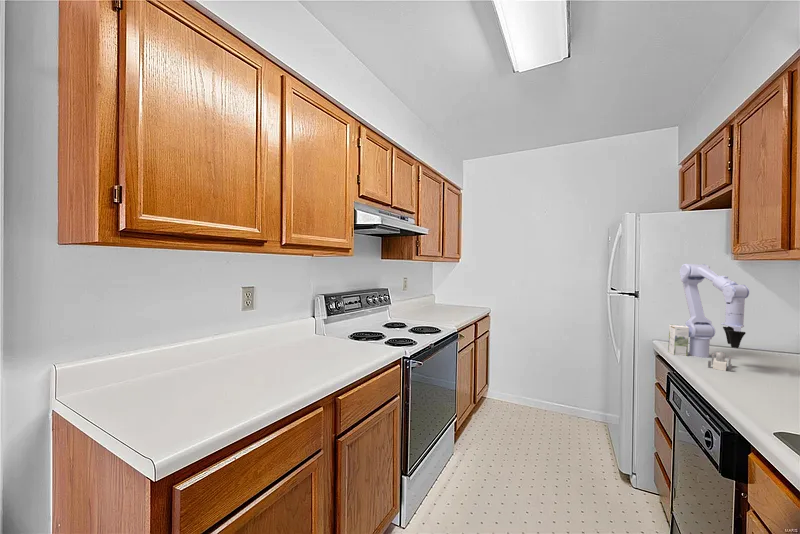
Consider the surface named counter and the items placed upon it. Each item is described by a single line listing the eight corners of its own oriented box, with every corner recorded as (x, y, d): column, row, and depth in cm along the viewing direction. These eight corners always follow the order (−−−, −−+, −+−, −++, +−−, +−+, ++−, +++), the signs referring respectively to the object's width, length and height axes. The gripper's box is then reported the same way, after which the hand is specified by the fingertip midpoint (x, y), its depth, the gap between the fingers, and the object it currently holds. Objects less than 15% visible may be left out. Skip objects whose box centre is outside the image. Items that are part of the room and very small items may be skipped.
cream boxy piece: (712, 363, 161) (712, 353, 160) (730, 366, 156) (731, 356, 156) (711, 364, 158) (711, 354, 158) (730, 367, 154) (730, 357, 154)
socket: (708, 367, 154) (708, 360, 154) (731, 371, 149) (731, 364, 149) (707, 367, 153) (708, 361, 153) (731, 372, 148) (731, 365, 148)
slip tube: (714, 364, 158) (715, 349, 157) (727, 366, 155) (727, 351, 155) (712, 368, 152) (713, 353, 152) (725, 370, 149) (726, 355, 149)
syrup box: (681, 354, 177) (682, 324, 176) (687, 357, 171) (689, 326, 170) (667, 353, 178) (669, 323, 177) (673, 356, 172) (675, 326, 172)
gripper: (719, 310, 162) (717, 341, 162) (725, 314, 149) (723, 347, 150) (740, 312, 158) (739, 343, 158) (748, 316, 146) (746, 350, 146)
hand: (732, 345), depth 154 cm, fingers open, 7 cm apart
